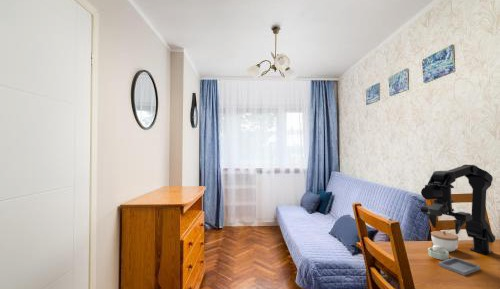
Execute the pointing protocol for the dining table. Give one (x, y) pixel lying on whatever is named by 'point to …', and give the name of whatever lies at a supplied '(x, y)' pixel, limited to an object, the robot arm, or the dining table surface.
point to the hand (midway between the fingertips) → (445, 230)
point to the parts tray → (459, 266)
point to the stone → (438, 249)
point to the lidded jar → (445, 240)
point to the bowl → (438, 254)
